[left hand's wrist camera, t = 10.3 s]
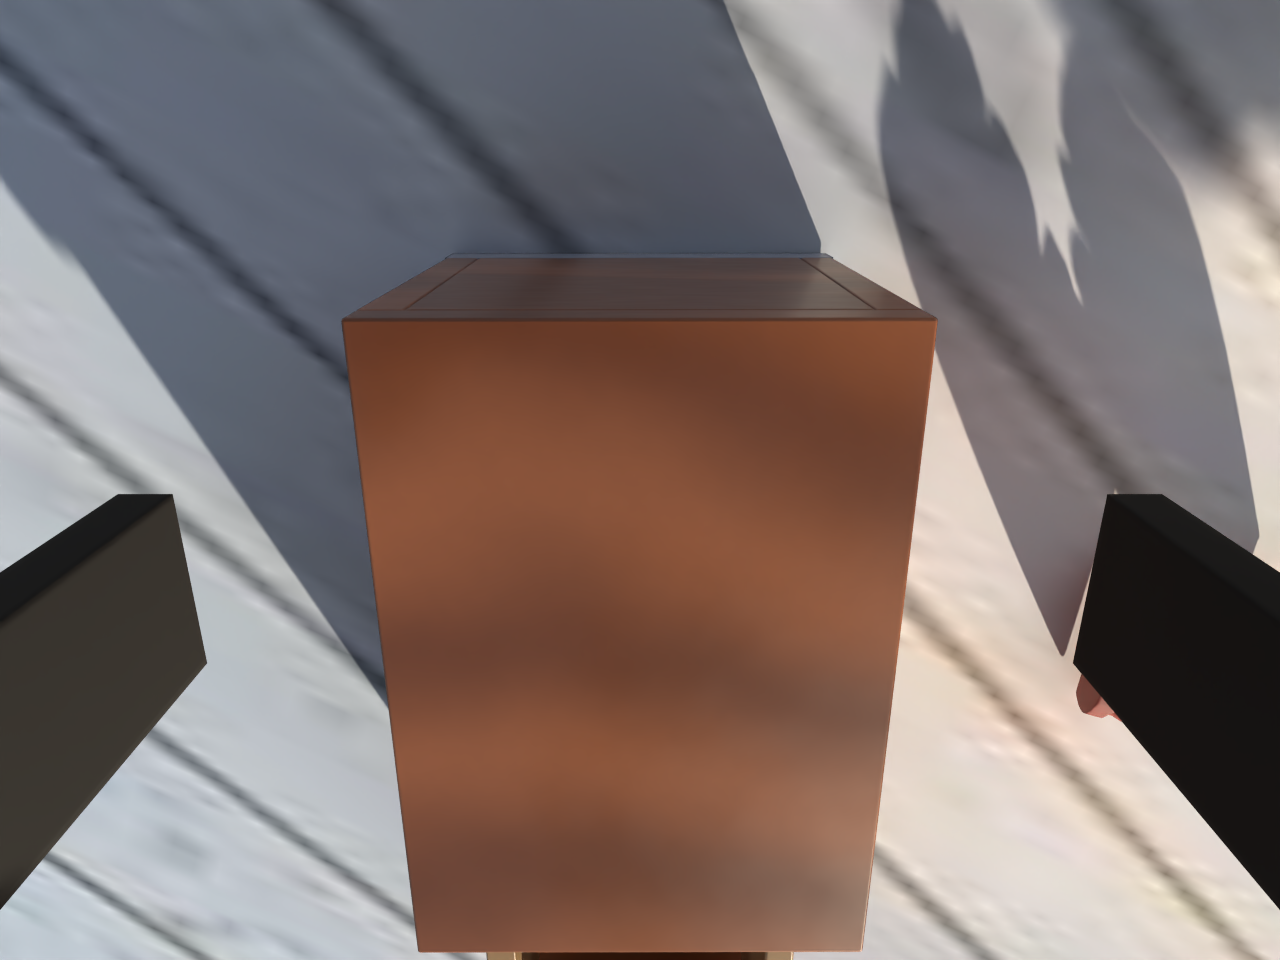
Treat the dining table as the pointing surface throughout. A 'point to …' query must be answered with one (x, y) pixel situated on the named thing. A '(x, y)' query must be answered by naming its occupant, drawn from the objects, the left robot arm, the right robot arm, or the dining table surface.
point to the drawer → (639, 955)
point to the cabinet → (639, 591)
